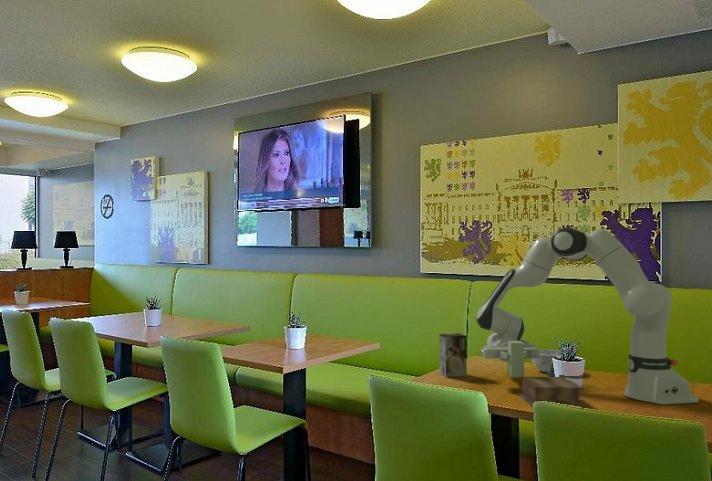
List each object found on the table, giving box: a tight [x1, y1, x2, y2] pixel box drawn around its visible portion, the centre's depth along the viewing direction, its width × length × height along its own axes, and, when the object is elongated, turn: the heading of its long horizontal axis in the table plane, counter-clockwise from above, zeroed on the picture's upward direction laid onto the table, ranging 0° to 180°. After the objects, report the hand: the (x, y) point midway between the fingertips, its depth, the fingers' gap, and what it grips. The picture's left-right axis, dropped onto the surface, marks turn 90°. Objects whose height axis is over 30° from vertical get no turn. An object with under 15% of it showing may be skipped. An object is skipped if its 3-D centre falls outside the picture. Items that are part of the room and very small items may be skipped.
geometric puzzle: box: [544, 363, 555, 377], centre depth 216 cm, size 7×7×8 cm
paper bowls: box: [531, 349, 560, 374], centre depth 233 cm, size 15×15×8 cm
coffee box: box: [438, 332, 468, 378], centre depth 224 cm, size 9×6×16 cm
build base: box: [518, 376, 583, 407], centre depth 188 cm, size 16×16×6 cm
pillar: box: [507, 341, 525, 378], centre depth 201 cm, size 4×4×12 cm
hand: (516, 356), depth 200 cm, fingers closed on pillar, 4 cm apart
